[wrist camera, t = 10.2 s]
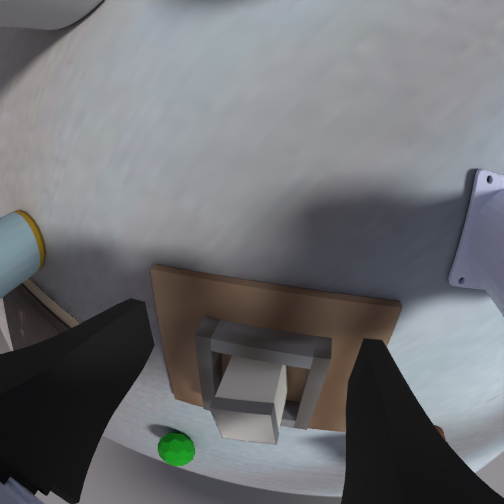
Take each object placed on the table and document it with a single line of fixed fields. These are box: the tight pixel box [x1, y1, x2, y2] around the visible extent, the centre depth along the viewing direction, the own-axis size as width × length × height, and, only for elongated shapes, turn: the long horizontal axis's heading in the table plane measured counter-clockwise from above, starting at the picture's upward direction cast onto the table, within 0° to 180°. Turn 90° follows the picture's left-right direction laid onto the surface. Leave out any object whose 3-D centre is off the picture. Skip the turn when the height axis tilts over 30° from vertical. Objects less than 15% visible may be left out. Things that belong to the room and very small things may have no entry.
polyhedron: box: [158, 433, 195, 466], centre depth 32 cm, size 5×5×5 cm
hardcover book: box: [3, 278, 80, 350], centre depth 33 cm, size 16×23×2 cm
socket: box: [150, 264, 402, 432], centre depth 22 cm, size 18×16×3 cm
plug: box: [209, 356, 288, 445], centre depth 20 cm, size 4×4×6 cm
